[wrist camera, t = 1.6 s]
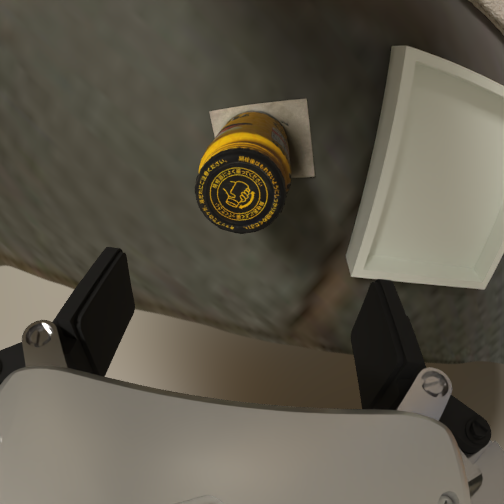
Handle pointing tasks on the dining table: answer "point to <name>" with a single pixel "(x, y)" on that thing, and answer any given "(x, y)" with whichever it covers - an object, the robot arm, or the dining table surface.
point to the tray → (433, 177)
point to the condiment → (253, 163)
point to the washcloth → (492, 11)
